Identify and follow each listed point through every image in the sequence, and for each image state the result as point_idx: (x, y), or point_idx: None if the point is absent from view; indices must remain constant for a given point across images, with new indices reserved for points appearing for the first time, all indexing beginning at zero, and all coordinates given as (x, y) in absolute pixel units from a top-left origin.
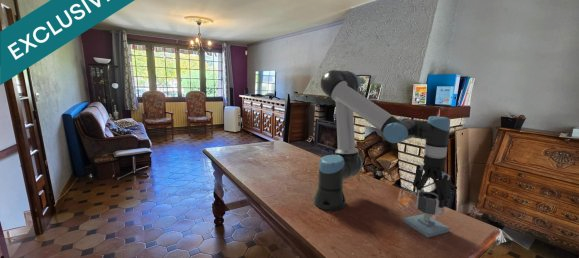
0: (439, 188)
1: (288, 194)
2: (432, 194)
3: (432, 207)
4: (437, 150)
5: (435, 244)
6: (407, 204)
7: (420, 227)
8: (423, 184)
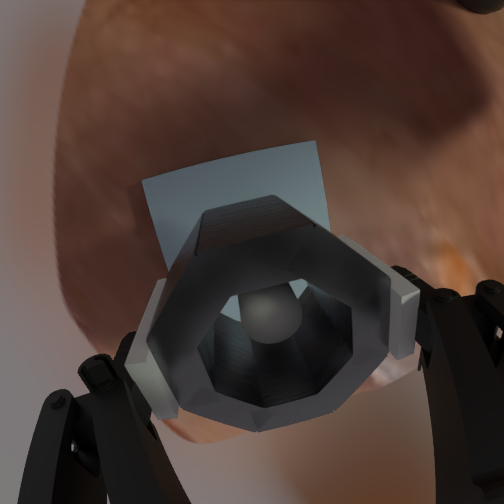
0: (112, 497)
1: None
2: (311, 392)
3: (168, 280)
4: None
5: (99, 187)
6: (435, 275)
7: (206, 177)
8: (435, 389)
